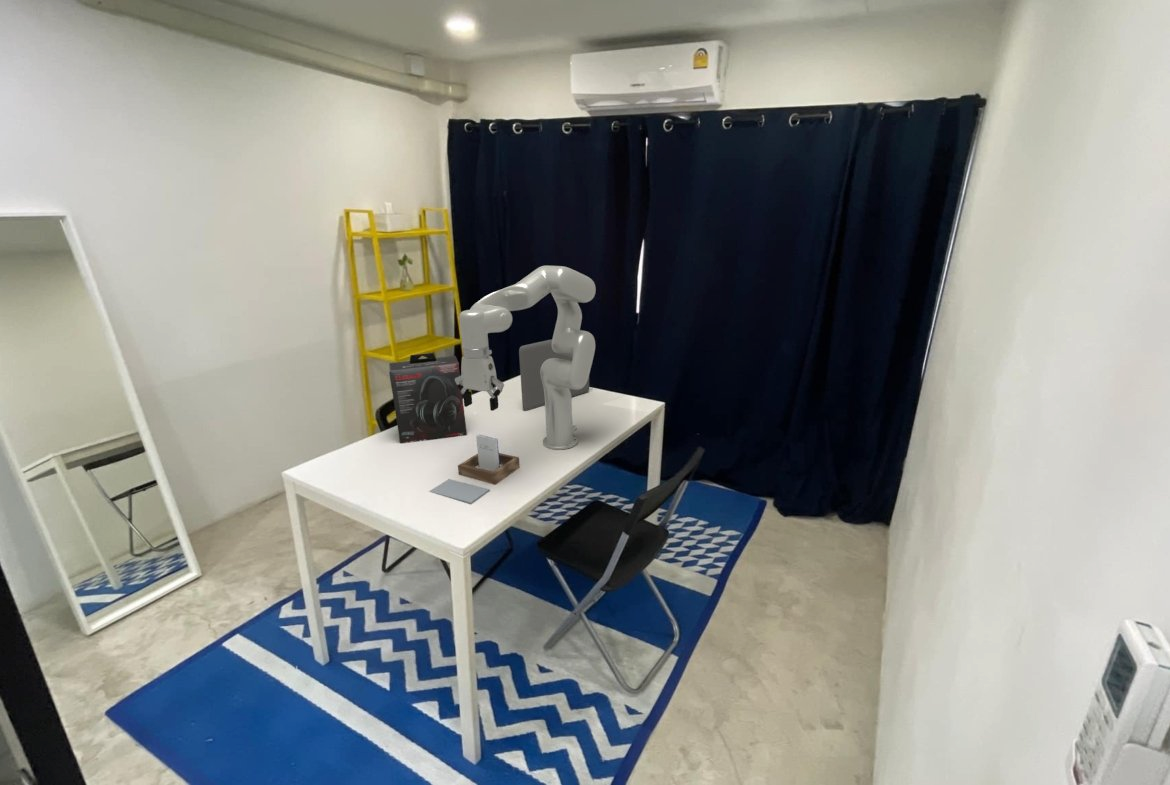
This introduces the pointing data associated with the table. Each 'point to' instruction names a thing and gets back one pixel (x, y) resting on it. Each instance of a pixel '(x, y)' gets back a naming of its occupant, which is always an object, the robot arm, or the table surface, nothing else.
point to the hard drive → (488, 453)
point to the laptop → (538, 373)
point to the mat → (460, 491)
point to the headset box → (427, 398)
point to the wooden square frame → (488, 476)
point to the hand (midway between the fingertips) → (481, 407)
